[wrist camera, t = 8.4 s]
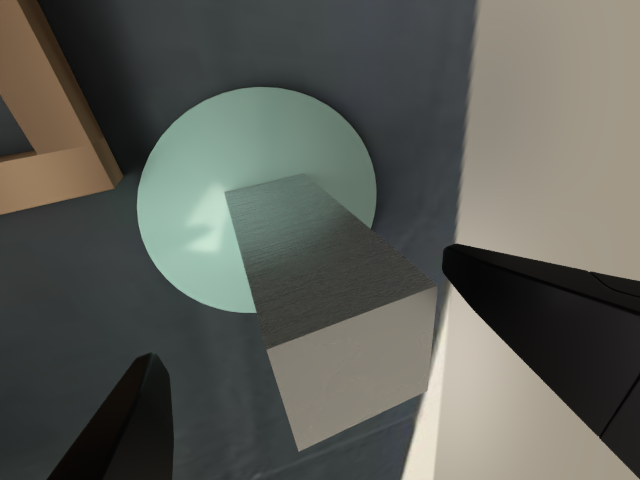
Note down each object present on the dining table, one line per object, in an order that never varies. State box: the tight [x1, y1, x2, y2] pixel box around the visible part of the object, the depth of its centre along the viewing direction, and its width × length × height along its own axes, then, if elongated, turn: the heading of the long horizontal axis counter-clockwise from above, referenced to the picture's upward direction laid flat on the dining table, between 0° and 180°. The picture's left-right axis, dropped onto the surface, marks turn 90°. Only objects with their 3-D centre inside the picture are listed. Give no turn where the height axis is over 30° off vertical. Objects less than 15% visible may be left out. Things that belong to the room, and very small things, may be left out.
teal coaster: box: [137, 87, 377, 313], centre depth 14 cm, size 11×11×1 cm
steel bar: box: [224, 173, 438, 451], centre depth 10 cm, size 4×4×9 cm
